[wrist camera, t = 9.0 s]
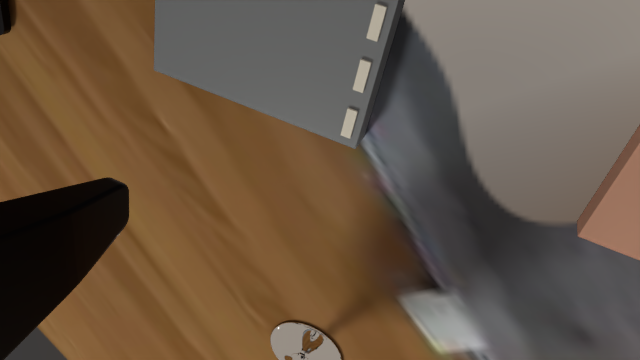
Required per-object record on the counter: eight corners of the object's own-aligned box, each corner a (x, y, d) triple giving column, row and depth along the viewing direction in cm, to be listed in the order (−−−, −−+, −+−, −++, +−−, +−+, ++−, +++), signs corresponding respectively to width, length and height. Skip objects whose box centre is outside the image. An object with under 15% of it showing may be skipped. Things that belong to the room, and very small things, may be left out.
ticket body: (170, 61, 23) (152, 70, 22) (178, -144, 19) (156, -144, 18) (364, 136, 22) (354, 150, 20) (425, -71, 17) (417, -67, 16)
